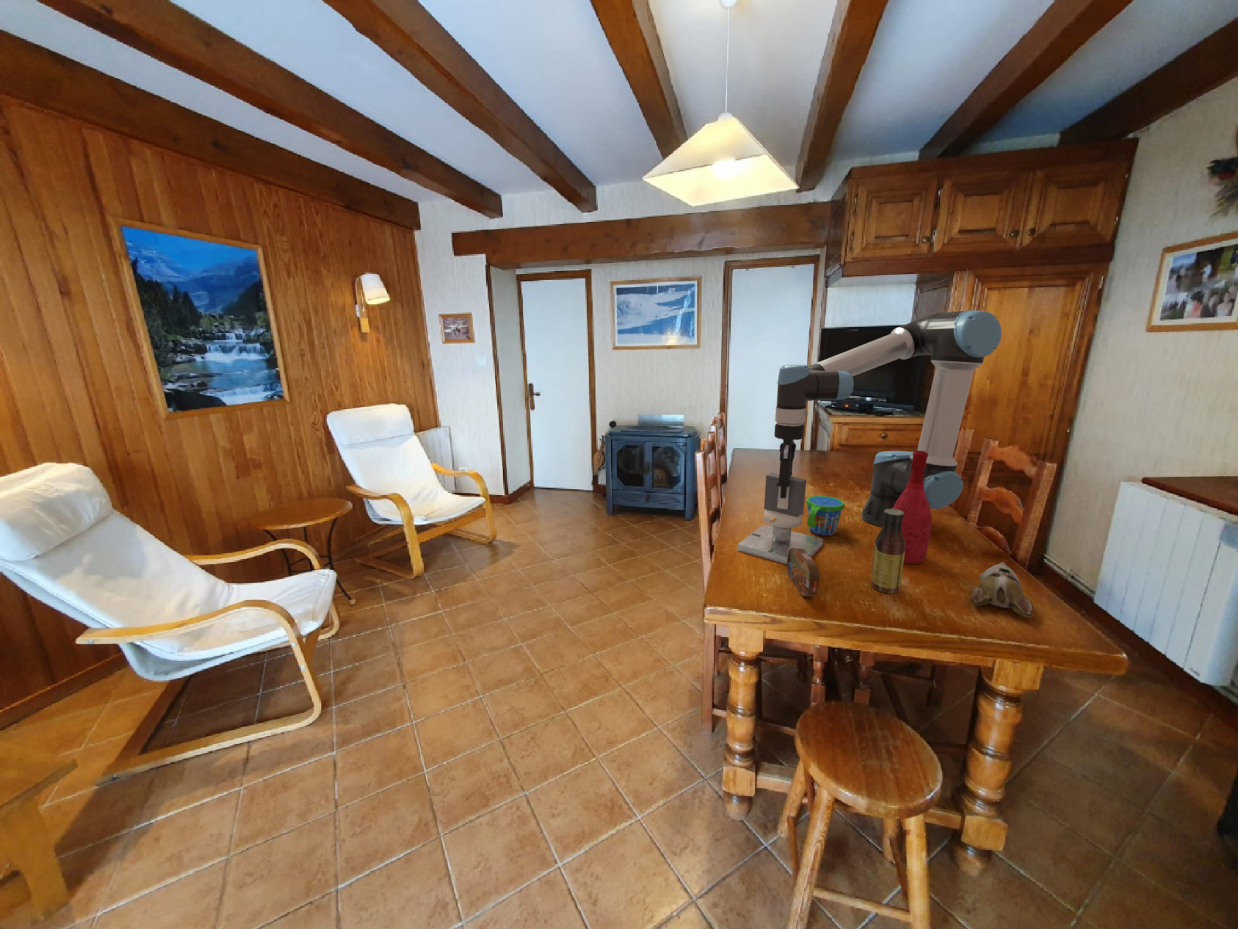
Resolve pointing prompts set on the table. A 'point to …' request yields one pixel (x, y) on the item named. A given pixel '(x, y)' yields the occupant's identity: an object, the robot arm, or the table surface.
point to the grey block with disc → (795, 502)
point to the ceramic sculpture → (1001, 590)
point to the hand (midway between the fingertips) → (783, 504)
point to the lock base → (779, 549)
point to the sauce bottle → (889, 553)
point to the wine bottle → (915, 512)
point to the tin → (803, 572)
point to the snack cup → (824, 514)
